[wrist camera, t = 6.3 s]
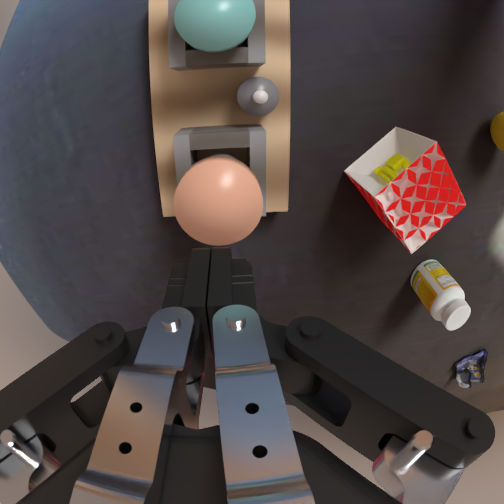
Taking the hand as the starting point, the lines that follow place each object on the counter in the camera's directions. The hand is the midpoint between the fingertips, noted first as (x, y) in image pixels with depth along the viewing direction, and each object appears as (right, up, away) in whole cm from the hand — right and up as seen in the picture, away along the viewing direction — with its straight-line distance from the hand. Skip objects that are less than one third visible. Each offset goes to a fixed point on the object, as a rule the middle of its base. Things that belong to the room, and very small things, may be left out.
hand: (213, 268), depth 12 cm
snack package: (+50, -25, +42) cm, 70 cm away
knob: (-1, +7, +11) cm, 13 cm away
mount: (-1, +15, +14) cm, 21 cm away
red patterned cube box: (+17, +9, +20) cm, 27 cm away
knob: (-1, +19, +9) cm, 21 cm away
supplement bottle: (+26, -2, +27) cm, 37 cm away
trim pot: (+2, +14, +12) cm, 18 cm away
